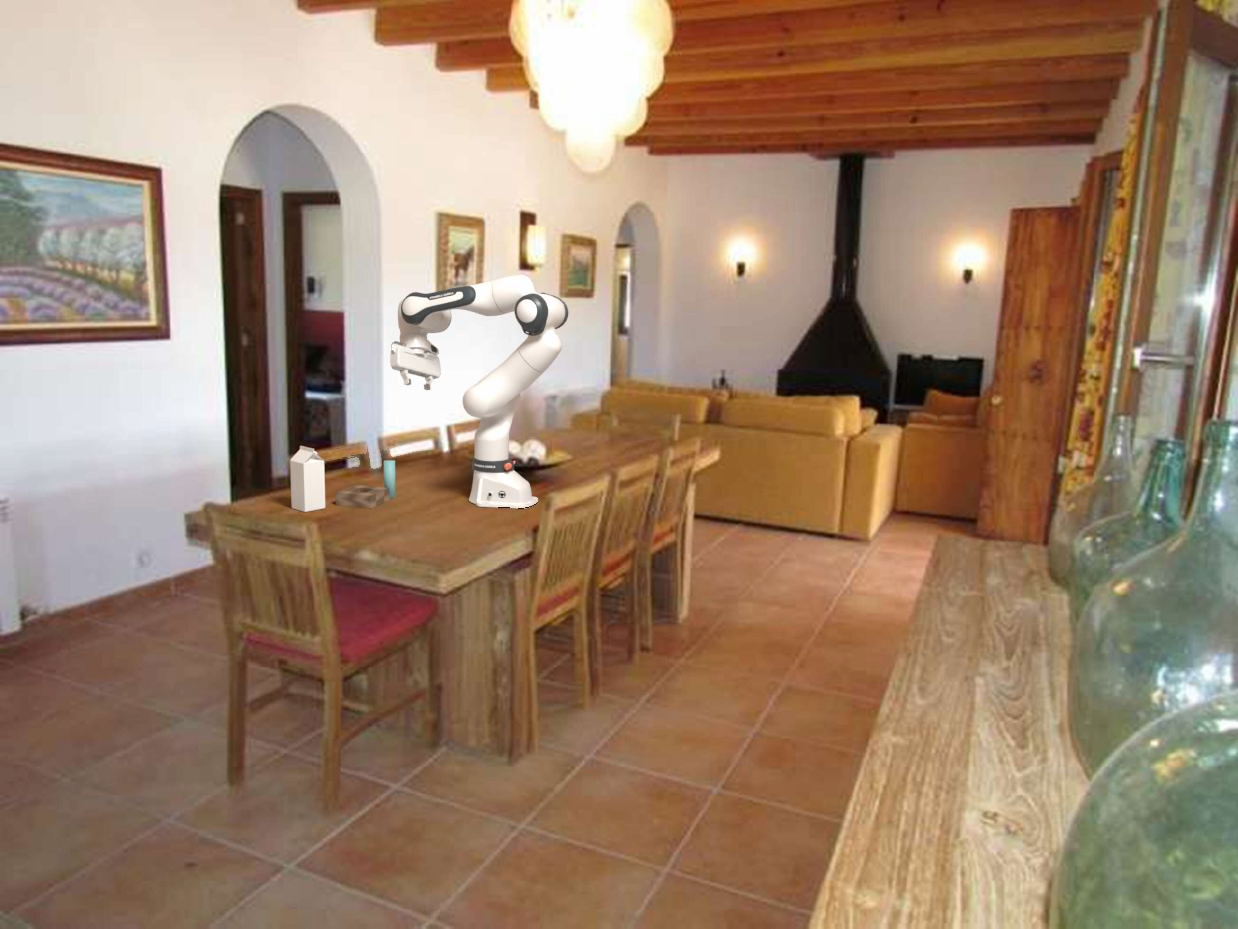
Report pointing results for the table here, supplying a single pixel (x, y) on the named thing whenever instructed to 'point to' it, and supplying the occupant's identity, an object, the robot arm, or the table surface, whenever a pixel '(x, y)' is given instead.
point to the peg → (389, 477)
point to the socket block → (362, 496)
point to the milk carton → (307, 480)
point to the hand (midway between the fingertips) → (417, 387)
